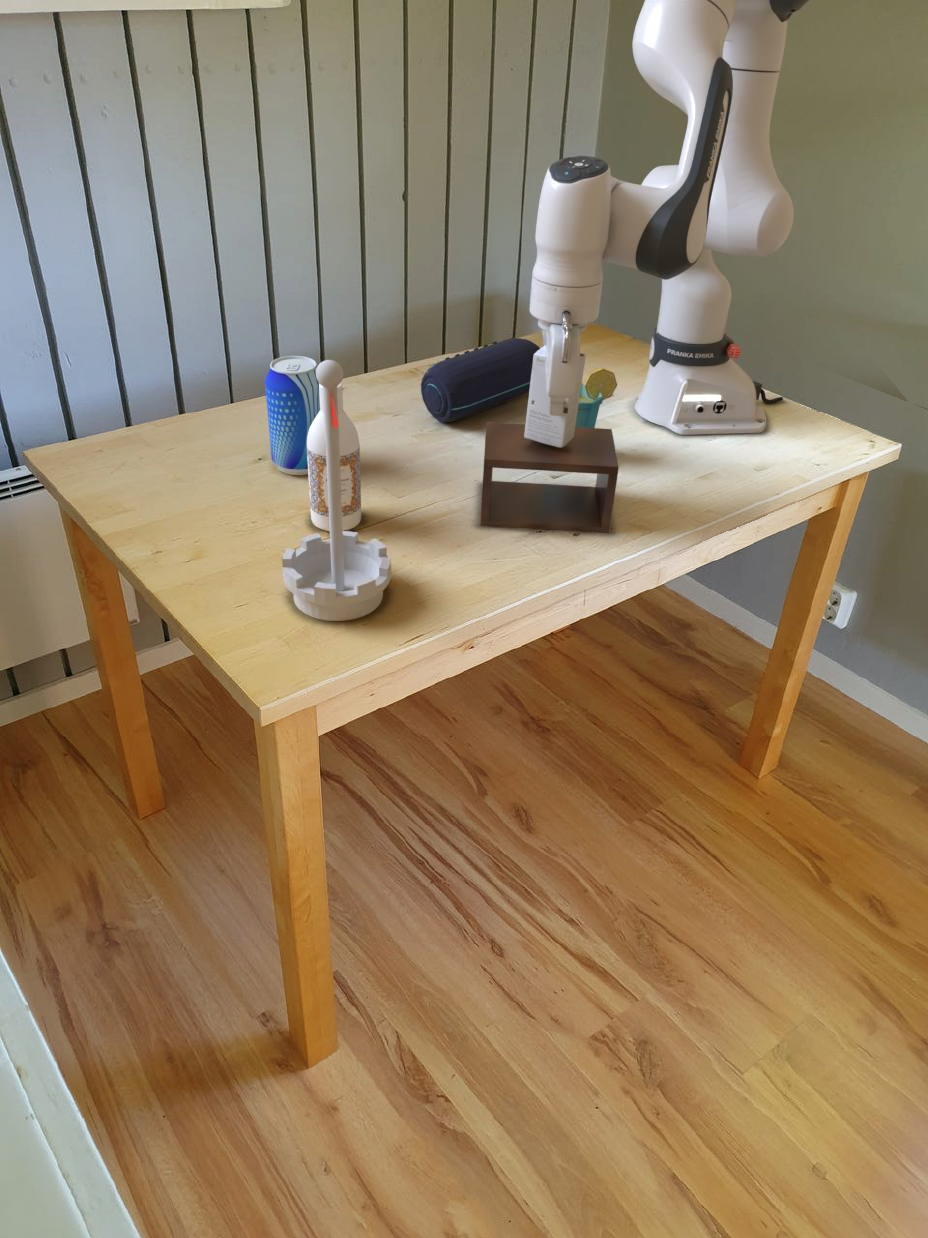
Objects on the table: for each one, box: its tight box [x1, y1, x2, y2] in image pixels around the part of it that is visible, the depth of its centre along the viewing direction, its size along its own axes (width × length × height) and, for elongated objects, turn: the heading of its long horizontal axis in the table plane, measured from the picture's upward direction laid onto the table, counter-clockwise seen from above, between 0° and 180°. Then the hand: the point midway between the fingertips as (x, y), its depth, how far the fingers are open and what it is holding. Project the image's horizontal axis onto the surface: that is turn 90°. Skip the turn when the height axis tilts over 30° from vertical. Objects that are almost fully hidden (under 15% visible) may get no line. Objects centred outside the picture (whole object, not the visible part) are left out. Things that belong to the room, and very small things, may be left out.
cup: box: [575, 367, 618, 428], centre depth 148 cm, size 14×8×15 cm, turn 119°
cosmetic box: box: [524, 345, 587, 448], centre depth 129 cm, size 6×4×12 cm
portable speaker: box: [420, 337, 541, 423], centre depth 164 cm, size 25×10×10 cm, turn 136°
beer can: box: [264, 355, 320, 476], centre depth 142 cm, size 8×8×16 cm
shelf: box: [479, 421, 620, 534], centre depth 136 cm, size 18×12×10 cm, turn 87°
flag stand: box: [281, 359, 392, 622], centre depth 110 cm, size 13×13×30 cm
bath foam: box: [307, 382, 362, 532], centre depth 128 cm, size 7×7×20 cm
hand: (554, 403), depth 129 cm, fingers closed on cosmetic box, 5 cm apart
